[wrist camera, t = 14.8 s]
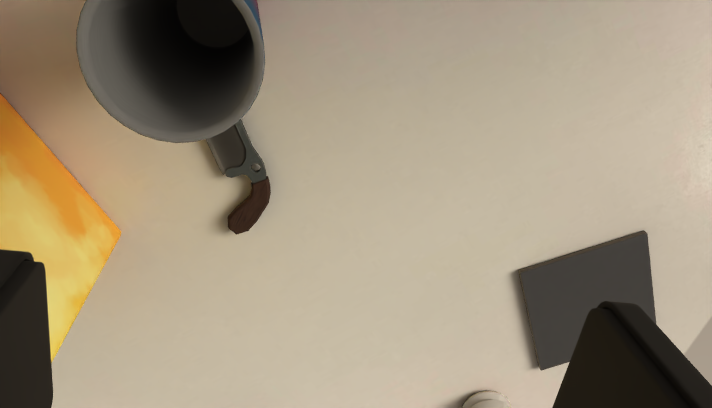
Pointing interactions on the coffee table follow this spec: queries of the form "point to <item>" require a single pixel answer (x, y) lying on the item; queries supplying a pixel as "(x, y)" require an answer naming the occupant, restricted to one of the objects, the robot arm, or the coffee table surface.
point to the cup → (172, 63)
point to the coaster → (583, 292)
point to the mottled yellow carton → (50, 221)
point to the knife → (237, 160)
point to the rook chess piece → (487, 400)
